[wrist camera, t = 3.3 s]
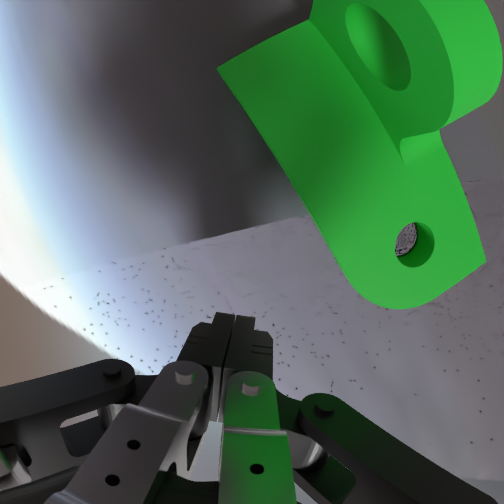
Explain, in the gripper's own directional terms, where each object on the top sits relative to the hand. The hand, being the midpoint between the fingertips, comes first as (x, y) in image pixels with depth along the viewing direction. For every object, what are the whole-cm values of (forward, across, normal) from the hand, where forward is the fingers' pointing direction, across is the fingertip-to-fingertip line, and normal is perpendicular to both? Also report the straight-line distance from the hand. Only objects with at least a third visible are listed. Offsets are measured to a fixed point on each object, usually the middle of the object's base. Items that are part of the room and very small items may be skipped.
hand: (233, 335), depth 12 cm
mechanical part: (+3, -4, -7) cm, 9 cm away
